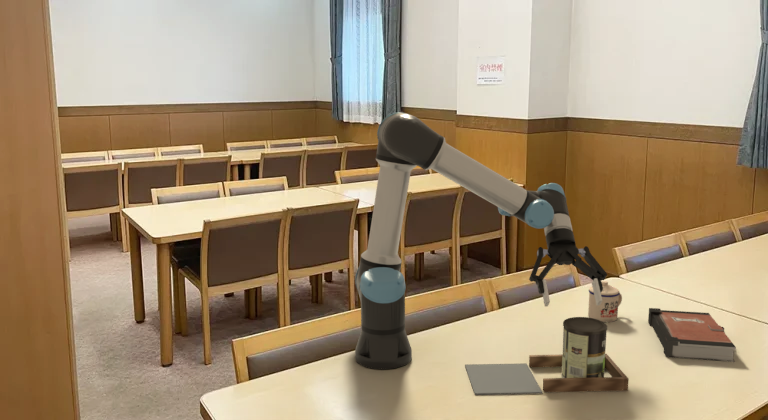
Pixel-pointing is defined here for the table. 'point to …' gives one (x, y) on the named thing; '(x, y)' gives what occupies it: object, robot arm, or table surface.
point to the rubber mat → (502, 379)
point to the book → (691, 335)
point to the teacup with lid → (605, 303)
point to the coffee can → (583, 348)
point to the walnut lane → (580, 384)
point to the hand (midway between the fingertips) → (573, 303)
